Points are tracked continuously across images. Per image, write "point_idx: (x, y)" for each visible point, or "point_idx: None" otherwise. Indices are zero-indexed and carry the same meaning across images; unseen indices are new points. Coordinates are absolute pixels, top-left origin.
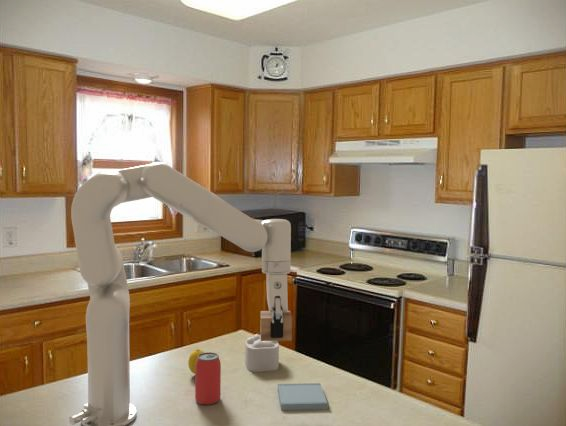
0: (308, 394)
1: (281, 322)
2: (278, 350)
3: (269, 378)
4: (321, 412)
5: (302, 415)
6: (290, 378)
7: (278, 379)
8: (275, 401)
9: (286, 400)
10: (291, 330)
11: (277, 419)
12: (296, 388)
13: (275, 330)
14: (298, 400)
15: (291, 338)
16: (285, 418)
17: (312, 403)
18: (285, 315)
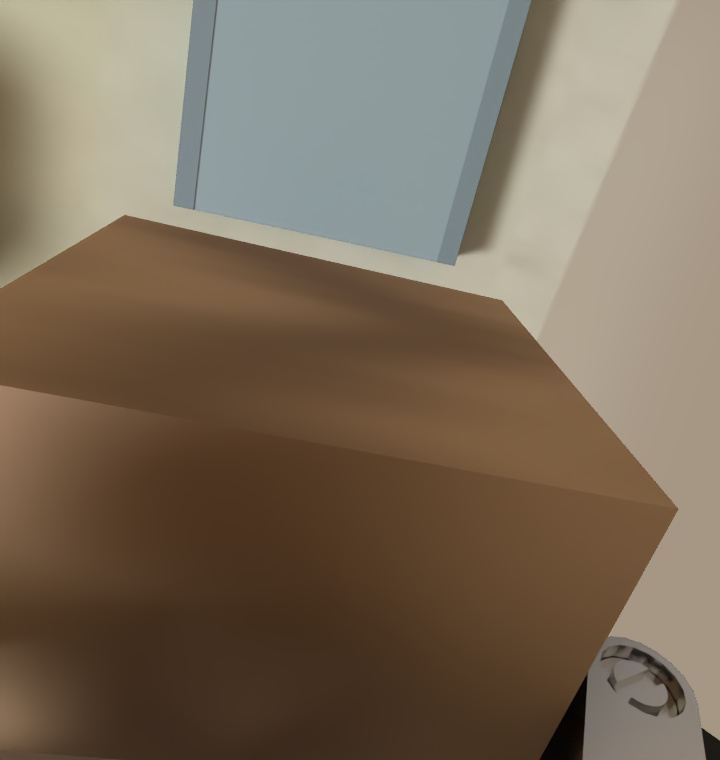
0: (376, 35)
1: (663, 682)
2: None
3: (3, 206)
4: (556, 14)
5: (544, 154)
6: (7, 47)
7: (22, 147)
8: (338, 258)
9: (414, 218)
10: (548, 364)
11: (531, 302)
12: (264, 92)
13: None
14: (438, 141)
15: (506, 312)
16: (538, 259)
17: (510, 59)
18: (401, 603)
